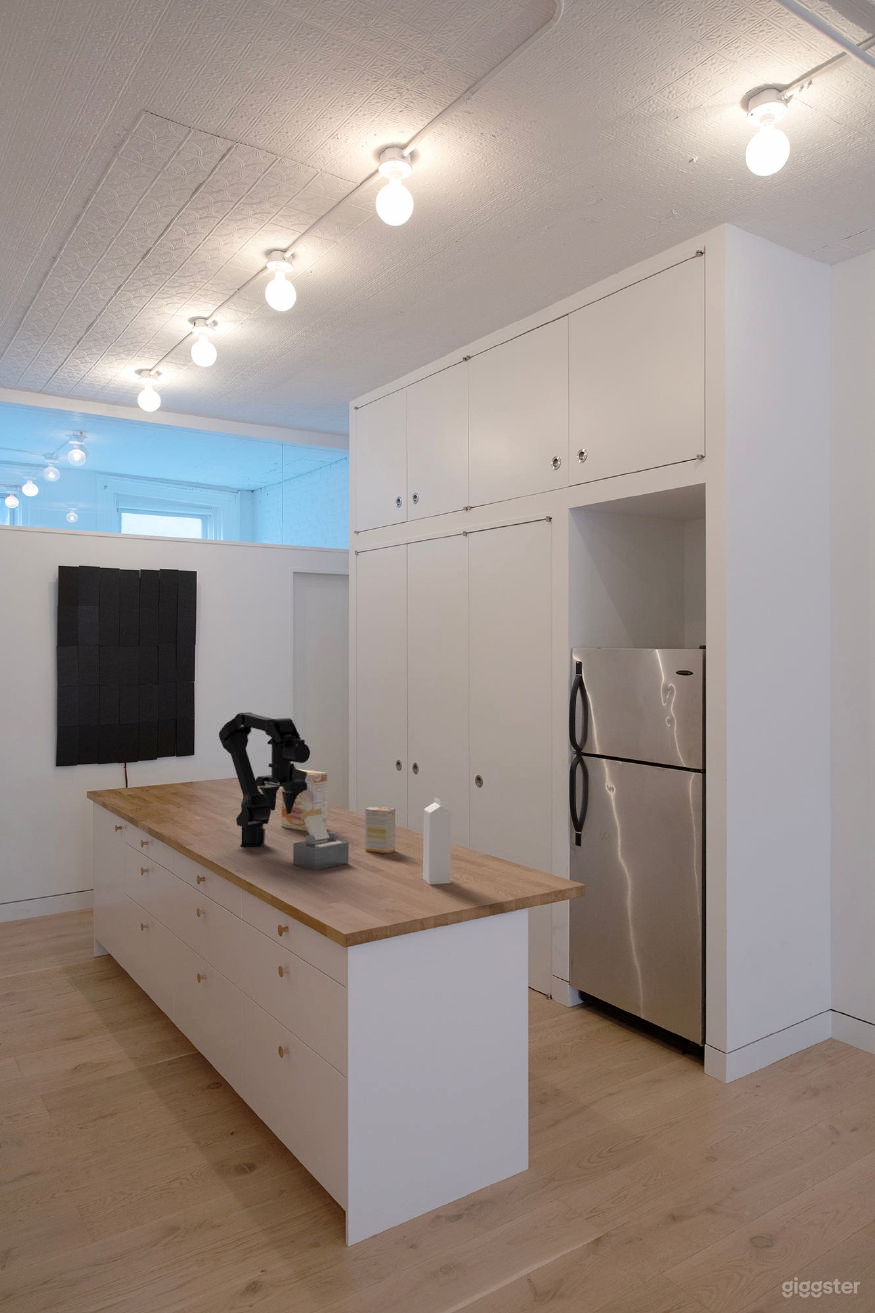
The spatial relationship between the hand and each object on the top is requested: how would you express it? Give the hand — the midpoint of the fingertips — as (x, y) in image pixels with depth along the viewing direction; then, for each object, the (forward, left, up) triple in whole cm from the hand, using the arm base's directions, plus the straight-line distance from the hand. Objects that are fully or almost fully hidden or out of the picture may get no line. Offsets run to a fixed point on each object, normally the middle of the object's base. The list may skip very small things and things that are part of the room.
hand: (280, 812), depth 266 cm
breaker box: (+13, -15, -12) cm, 23 cm away
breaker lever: (+13, -15, -5) cm, 21 cm away
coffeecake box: (+3, +36, -12) cm, 38 cm away
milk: (+46, -33, -12) cm, 58 cm away
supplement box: (+30, +2, -12) cm, 32 cm away
